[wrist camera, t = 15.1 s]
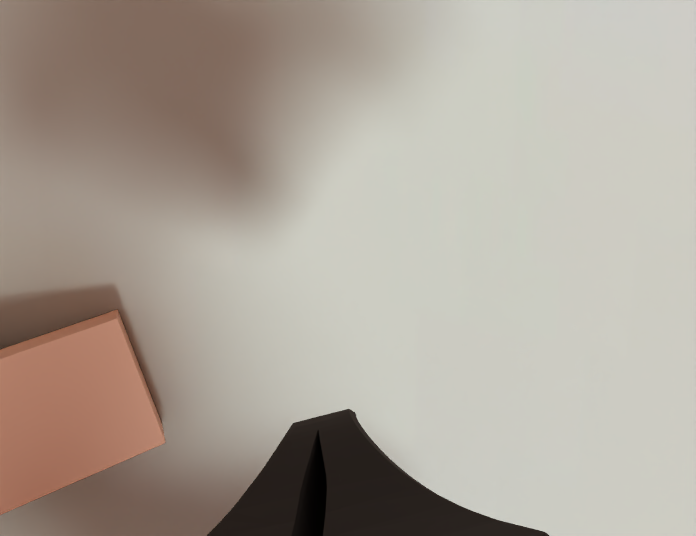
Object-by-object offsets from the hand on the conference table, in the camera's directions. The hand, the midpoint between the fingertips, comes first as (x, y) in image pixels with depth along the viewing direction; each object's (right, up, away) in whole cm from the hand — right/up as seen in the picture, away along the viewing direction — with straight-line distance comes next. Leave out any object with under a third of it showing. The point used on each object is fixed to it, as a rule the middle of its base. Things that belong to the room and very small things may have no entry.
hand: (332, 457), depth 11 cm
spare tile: (-7, 0, +9) cm, 12 cm away
